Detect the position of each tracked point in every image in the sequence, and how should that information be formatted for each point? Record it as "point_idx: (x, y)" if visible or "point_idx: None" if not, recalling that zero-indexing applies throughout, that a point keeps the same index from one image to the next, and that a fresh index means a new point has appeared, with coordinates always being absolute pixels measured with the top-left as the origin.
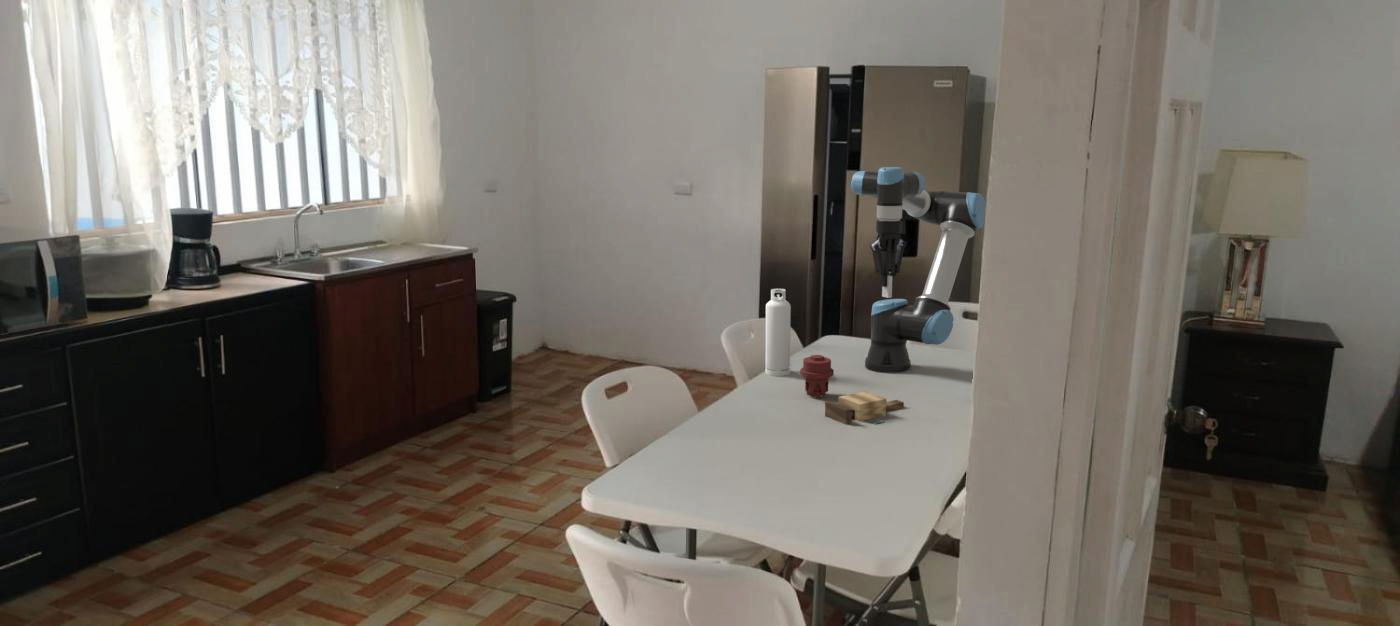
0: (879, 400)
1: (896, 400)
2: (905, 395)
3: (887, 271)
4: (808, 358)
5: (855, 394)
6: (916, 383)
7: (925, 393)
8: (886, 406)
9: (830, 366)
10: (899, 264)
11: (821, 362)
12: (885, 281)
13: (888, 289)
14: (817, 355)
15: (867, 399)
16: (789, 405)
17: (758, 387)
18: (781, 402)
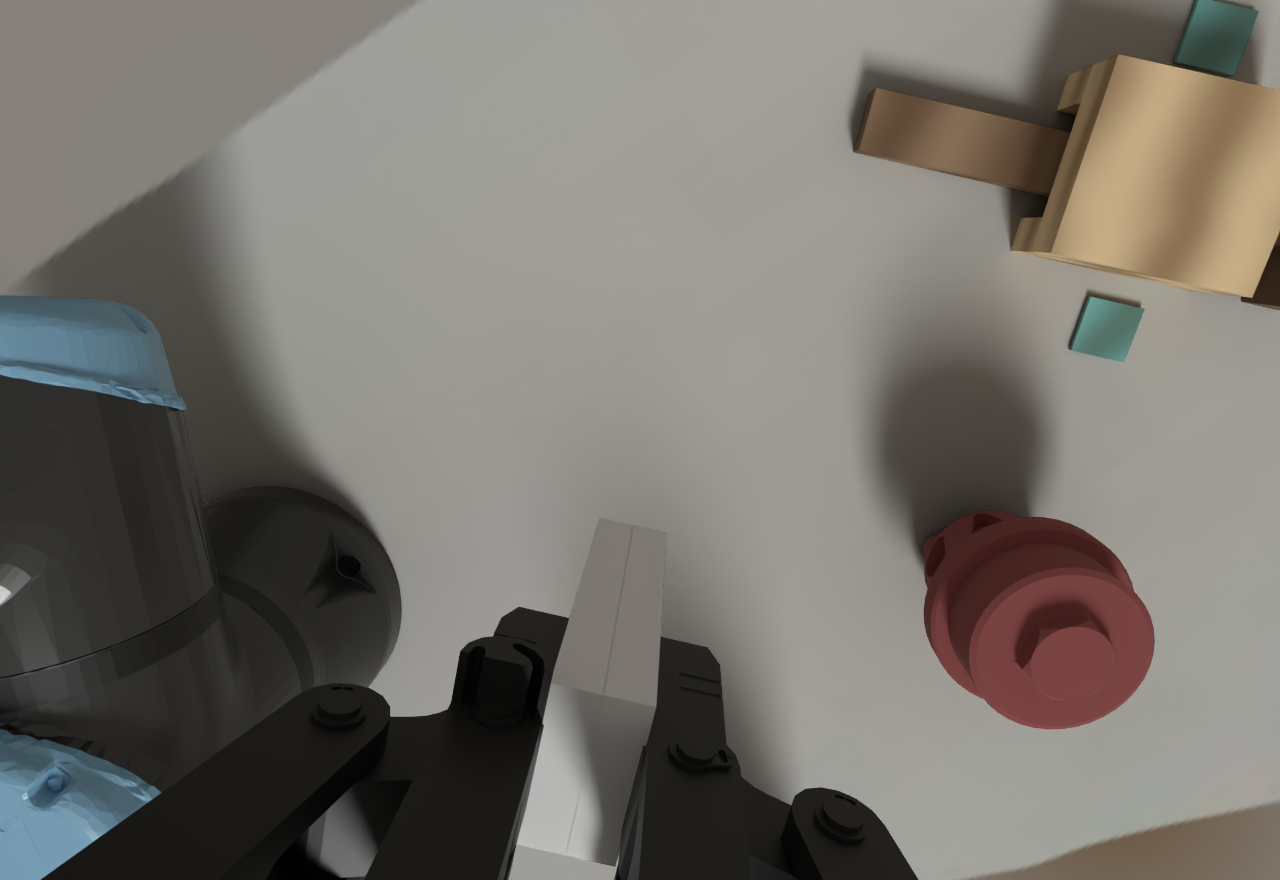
0: (1172, 66)
1: (872, 141)
2: (664, 222)
3: (681, 806)
4: (1073, 704)
5: (1147, 253)
6: (424, 314)
7: (553, 162)
8: (1004, 118)
9: (1018, 559)
10: (198, 818)
11: (1116, 589)
12: (695, 695)
13: (659, 583)
14: (1051, 674)
15: (1204, 131)
16: (1212, 549)
17: (1031, 824)
18: (1189, 606)
